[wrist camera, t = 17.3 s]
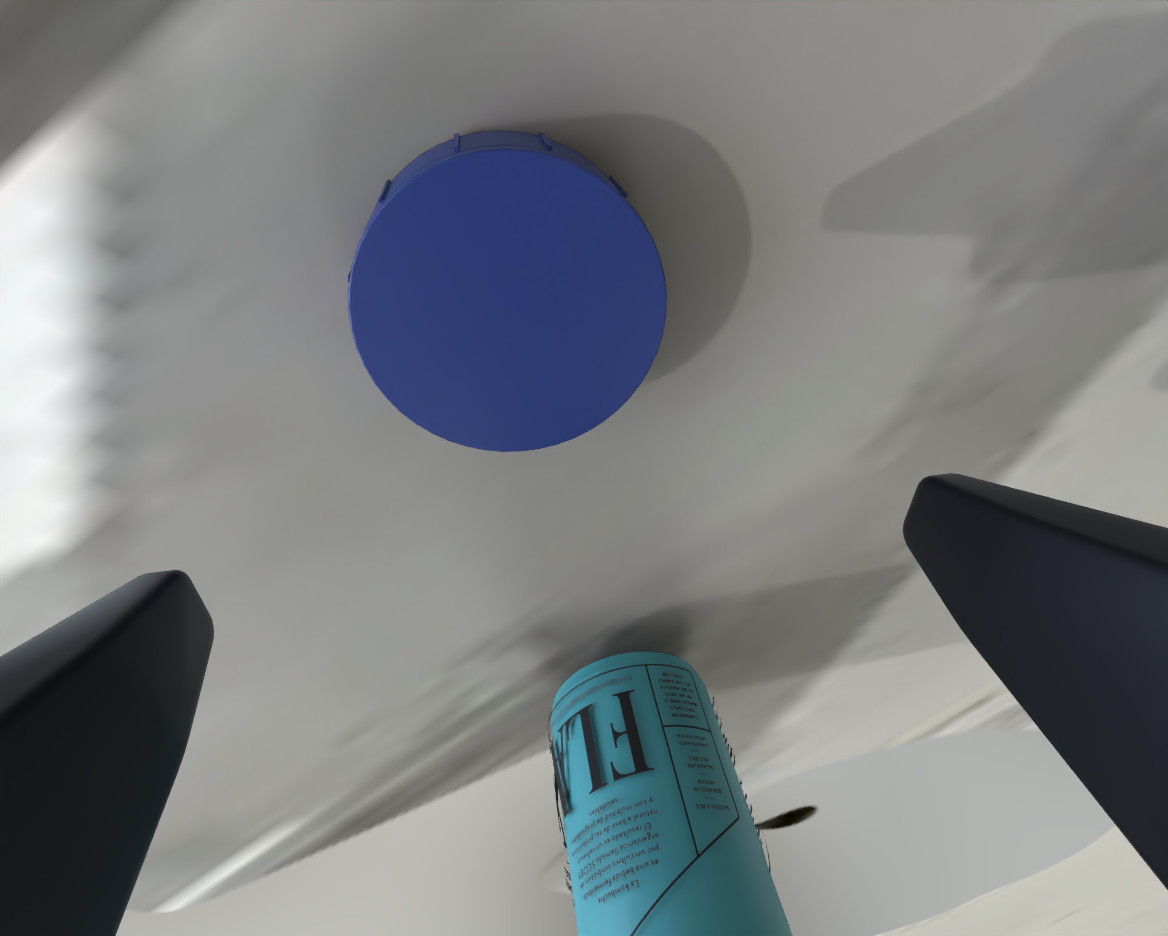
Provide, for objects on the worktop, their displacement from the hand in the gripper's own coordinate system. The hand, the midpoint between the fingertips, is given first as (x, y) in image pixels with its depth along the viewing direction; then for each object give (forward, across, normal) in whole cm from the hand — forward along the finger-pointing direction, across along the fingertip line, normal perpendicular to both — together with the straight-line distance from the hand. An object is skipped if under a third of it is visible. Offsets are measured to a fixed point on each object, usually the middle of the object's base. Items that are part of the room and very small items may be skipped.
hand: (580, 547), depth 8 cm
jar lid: (+8, 0, 0) cm, 8 cm away
